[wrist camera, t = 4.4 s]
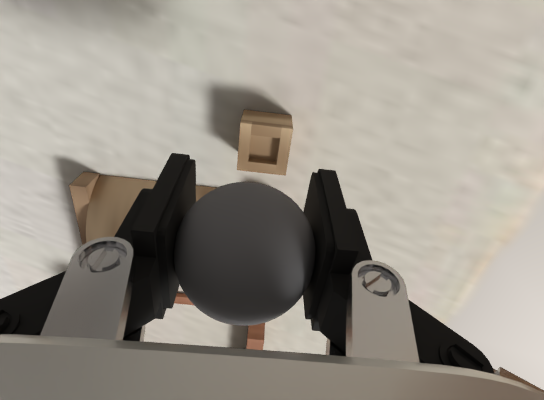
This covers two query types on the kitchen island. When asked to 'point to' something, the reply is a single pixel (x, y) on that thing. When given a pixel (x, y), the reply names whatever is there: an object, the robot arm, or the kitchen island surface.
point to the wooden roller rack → (112, 211)
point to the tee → (264, 142)
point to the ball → (244, 253)
